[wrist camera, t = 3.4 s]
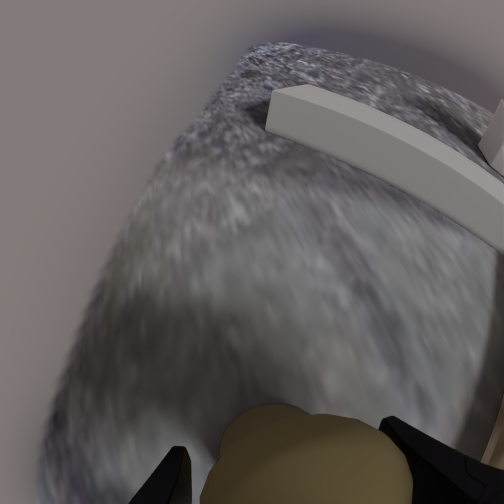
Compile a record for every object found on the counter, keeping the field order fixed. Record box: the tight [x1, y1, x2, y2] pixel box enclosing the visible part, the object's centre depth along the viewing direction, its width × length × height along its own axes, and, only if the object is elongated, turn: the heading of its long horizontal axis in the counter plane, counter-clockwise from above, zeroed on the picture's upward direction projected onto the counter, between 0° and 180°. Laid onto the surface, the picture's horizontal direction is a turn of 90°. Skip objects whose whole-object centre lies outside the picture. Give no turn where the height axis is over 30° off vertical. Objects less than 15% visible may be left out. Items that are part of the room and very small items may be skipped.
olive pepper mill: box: [200, 404, 413, 504], centre depth 8 cm, size 6×6×11 cm
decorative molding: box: [265, 84, 504, 256], centre depth 24 cm, size 34×5×10 cm
